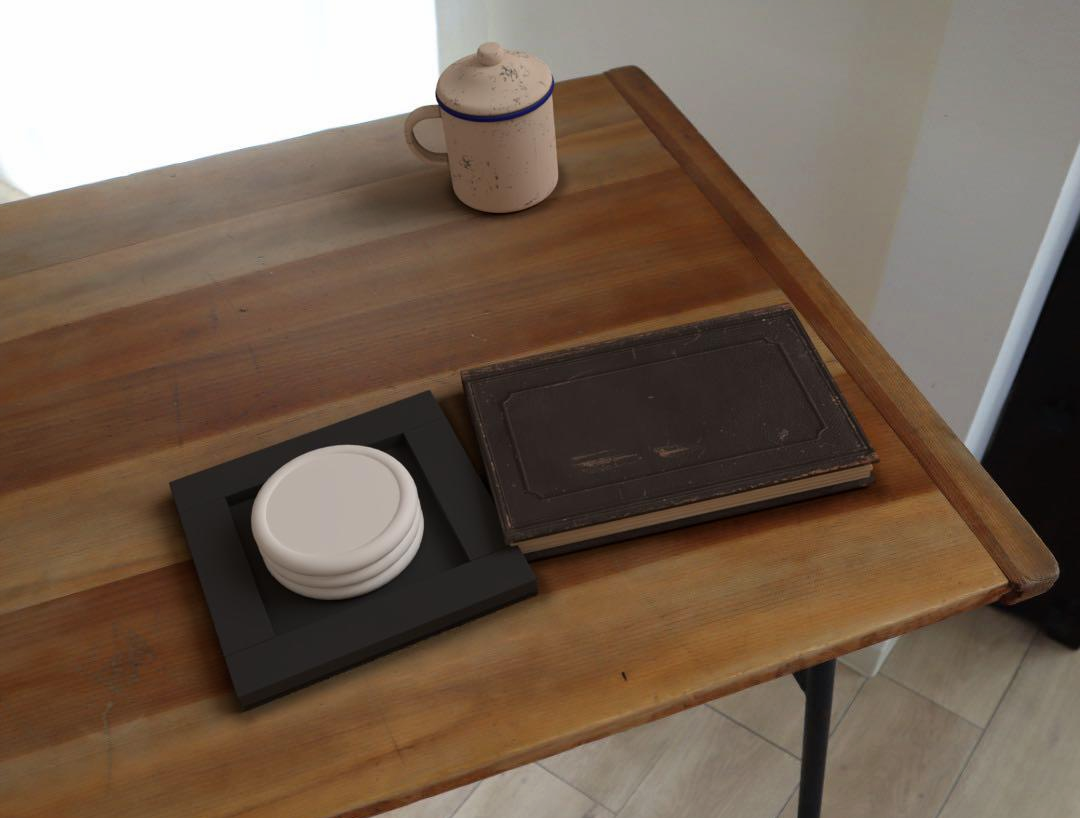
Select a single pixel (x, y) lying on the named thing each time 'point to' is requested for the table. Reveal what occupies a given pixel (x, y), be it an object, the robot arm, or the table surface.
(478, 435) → the hardcover book
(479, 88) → the teacup with lid
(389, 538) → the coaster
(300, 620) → the base pad
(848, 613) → the table surface
